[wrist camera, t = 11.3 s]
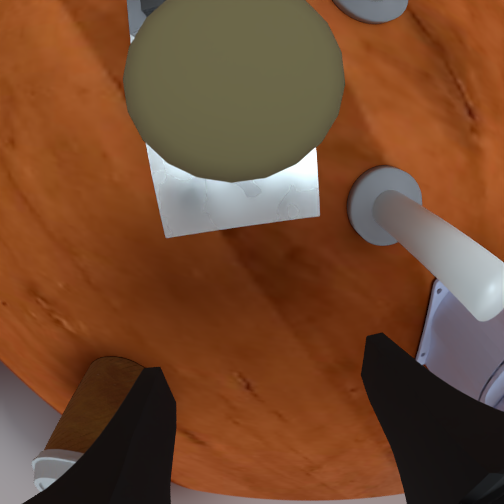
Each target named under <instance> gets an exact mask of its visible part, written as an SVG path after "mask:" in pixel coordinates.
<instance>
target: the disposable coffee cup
mask: <svg viewBox="0 0 504 504" xmlns="http://www.w3.org/2000/svg"><path fill="white" fill-rule="evenodd" d="M143 369H144V367H142V366H140V365H138V364H137V363H135V362H132V361H130V360H127V359H124V358H119V357H103V358H100V359H97V360H95V361H94V362H93V363H92V364H91V365H90V367H89V369H88V370H87V372H86V374H85V375H84V377H83V379H82V381H81V382H80V384H79V386H78V388H77V389H76V391H75V393H74V395H73V396H72V398H71V400H70V402H69V404H68V405H67V407H66V409H65V411H64V413H63V414H62V417H61V418H60V420H59V422H58V424H57V426H56V428H55V430H54V431H53V433H52V435H51V437H50V439H49V441H48V443H47V445H46V447H45V449H44V451H42V452H41V453H40V454H39V455H38V456H37V457H36V458H34V459H33V461H32V467H33V469H34V484H35V486H36V487H37V489H38V490H39V491H40V492H41V491H43V490H44V489H46V488H47V487H48V486H50V485H51V484H52V483H53V482H55V481H56V480H57V479H58V478H59V477H61V476H62V475H63V474H64V473H65V472H66V471H67V470H68V469H69V468H70V467H72V466H73V465H74V464H75V463H76V462H77V461H78V460H79V458H80V457H81V456H82V455H83V454H84V453H85V452H86V451H87V450H88V449H89V448H90V446H91V445H92V444H93V443H94V442H95V440H96V439H97V438H98V437H99V435H100V434H101V433H102V431H103V430H104V428H105V427H106V426H107V424H108V423H109V422H110V420H111V419H112V417H113V416H114V414H115V413H116V411H117V410H118V408H119V407H120V405H121V404H122V402H123V401H124V399H125V398H126V396H127V394H128V393H129V391H130V389H131V388H132V386H133V385H134V383H135V381H136V380H137V378H138V376H139V375H140V373H141V371H142V370H143Z"/></svg>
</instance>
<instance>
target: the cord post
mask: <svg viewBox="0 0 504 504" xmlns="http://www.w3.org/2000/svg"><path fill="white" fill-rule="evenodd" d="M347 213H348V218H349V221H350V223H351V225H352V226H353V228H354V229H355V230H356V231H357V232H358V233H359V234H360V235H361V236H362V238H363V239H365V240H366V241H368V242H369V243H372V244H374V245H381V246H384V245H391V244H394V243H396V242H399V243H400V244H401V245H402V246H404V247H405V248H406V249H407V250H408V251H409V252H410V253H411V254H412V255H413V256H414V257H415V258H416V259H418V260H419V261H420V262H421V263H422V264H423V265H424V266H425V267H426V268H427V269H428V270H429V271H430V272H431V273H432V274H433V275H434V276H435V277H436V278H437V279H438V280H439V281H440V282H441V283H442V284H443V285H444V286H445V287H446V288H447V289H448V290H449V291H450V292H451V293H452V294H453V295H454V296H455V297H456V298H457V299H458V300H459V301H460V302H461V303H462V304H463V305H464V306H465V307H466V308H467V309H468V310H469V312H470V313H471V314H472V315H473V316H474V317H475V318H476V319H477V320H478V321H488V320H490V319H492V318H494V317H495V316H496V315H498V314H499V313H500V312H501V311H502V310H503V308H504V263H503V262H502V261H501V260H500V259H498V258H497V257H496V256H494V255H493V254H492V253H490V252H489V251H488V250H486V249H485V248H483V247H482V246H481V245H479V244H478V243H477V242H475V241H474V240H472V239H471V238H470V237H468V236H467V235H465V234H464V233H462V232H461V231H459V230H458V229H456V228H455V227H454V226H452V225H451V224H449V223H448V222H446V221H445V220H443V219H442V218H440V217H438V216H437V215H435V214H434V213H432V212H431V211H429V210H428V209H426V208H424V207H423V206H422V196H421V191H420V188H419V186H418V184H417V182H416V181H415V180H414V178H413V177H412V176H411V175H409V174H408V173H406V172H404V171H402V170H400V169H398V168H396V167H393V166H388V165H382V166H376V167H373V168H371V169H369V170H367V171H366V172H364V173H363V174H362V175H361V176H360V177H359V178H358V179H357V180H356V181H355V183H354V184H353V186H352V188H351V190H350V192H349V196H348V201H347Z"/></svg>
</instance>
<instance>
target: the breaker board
mask: <svg viewBox="0 0 504 504" xmlns="http://www.w3.org/2000/svg"><path fill="white" fill-rule="evenodd" d="M165 1H166V0H127V7H128V19H129V29H130V38H131V43H132V41H133V39H134V38H135V36H136V34H137V32H138V31H139V29H140V27H141V26H142V24H143V22H144V21H145V19H146V18H147V17H148V16H149V15H150V14H151V13H152V12H153V11H154V10H155V9H157V8H158V7H159V6H160V5H161V4H162V3H163V2H165ZM146 147H147V152H148V158H149V163H150V168H151V173H152V178H153V183H154V188H155V192H156V197H157V202H158V206H159V211H160V215H161V220H162V224H163V228H164V233H165V237H166V238H170V237H176V236H183V235H189V234H196V233H202V232H209V231H216V230H222V229H229V228H236V227H243V226H250V225H257V224H264V223H271V222H278V221H286V220H293V219H301V218H308V217H316V216H320V207H319V188H318V171H317V157H316V148H315V149H313V150H312V151H311V152H310V153H309V154H308V155H307V156H305V157H304V158H303V159H302V160H301V161H300V162H299V163H297V164H296V165H294V166H291V167H289V168H287V169H285V170H283V171H280V172H278V173H276V174H274V175H271V176H269V177H267V178H263V179H255V180H248V181H241V182H234V183H229V182H223V181H216V180H210V179H203V178H197V177H195V176H193V175H191V174H189V173H187V172H185V171H183V170H181V169H179V168H176V167H174V166H172V165H170V164H168V163H167V162H166V161H165V160H164V159H163V158H161V157H160V156H159V155H158V154H157V153H156V152H155V151H154V150H153V149H152V148H151V147H150V146H149V145H148V144H147V143H146Z"/></svg>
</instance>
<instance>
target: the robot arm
mask: <svg viewBox="0 0 504 504" xmlns="http://www.w3.org/2000/svg"><path fill="white" fill-rule="evenodd" d="M437 290H438V291H437ZM423 364H426V366H427V367H428V369H429V370H428V369H426V368H425V367H424V366H423ZM361 376H362V380H363V383H364V386H365V389H366V392H367V395H368V398H369V400H370V403H371V405H372V407H373V409H374V411H375V413H376V416H377V418H378V420H379V422H380V424H381V426H382V428H383V431H384V433H385V435H386V437H387V439H388V441H389V444H390V446H391V449H392V451H393V454H394V457H395V460H396V463H397V467H398V470H399V473H400V477H401V481H402V485H403V488H404V492H405V497H406V502H407V504H504V308H503V310H502V311H501V312H500V313H499V314H498V315H496V316H495V317H494V318H492V319H490V320H488V321H478V320H477V319H476V318H475V317H474V316H473V315H472V314H471V313H470V312H469V310H468V309H467V308H466V307H465V306H464V305H463V304H462V303H461V302H460V301H459V300H458V299H457V298H456V297H455V296H454V295H453V294H452V293H451V292H450V291H449V290H448V289H447V288H446V287H445V286H444V285H443V284H442V283H441V282H440V281H439V280H438V279H436V280H435V282H434V284H433V288H432V293H431V298H430V303H429V308H428V312H427V317H426V321H425V325H424V330H423V334H422V338H421V341H420V345H419V349H418V353H417V356H416V360H415V359H414V358H412V357H411V356H410V355H409V354H408V353H406V352H405V351H404V350H403V349H402V348H400V347H399V346H398V345H397V344H396V343H394V342H393V341H392V340H391V339H390V338H388V337H387V336H386V335H385V334H383V333H378V334H374V335H370V336H367V337H366V345H365V352H364V359H363V365H362V372H361ZM175 435H176V401H175V399H174V397H173V395H172V392H171V390H170V388H169V386H168V384H167V381H166V379H165V377H164V374H163V372H162V370H161V367H151V368H144V369H143V370H142V371H141V373H140V375H139V376H138V378H137V380H136V381H135V383H134V385H133V386H132V388H131V389H130V391H129V393H128V394H127V396H126V398H125V399H124V401H123V402H122V404H121V405H120V407H119V408H118V410H117V411H116V413H115V414H114V416H113V417H112V419H111V420H110V422H109V423H108V424H107V426H106V427H105V428H104V430H103V431H102V433H101V434H100V435H99V437H98V438H97V439H96V440H95V442H94V443H93V444H92V445H91V446H90V448H89V449H88V450H87V451H86V452H85V453H84V454H83V455H82V456H81V457H80V458H79V460H78V461H77V462H76V463H75V464H74V465H73V466H72V467H70V468H69V469H68V470H67V471H66V472H65V473H64V474H63V475H62V476H61V477H59V478H58V479H57V480H56V481H55V482H53V483H52V484H51V485H50V486H48V487H47V488H46V489H44V490H43V491H41V492H40V493H38V494H37V495H35V496H34V497H32V498H31V499H29V500H27V501H26V502H24V503H23V504H171V500H170V482H171V471H172V462H173V453H174V444H175Z"/></svg>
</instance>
